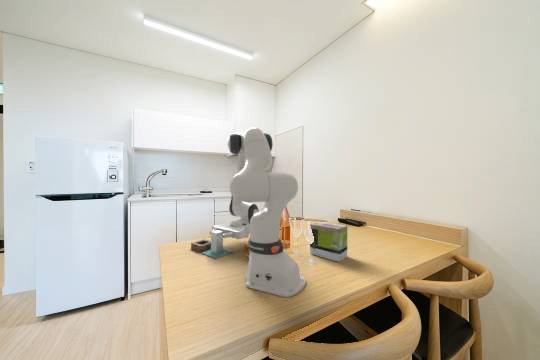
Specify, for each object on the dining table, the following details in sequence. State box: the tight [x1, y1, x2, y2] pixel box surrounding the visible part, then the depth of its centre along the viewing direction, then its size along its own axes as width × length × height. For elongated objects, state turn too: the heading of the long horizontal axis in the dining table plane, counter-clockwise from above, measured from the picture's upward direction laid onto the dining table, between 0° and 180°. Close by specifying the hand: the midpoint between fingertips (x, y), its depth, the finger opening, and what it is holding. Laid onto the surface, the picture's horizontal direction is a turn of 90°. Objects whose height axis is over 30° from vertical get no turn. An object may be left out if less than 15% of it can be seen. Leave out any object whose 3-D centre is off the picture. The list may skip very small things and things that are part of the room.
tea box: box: [309, 221, 348, 263], centre depth 97 cm, size 15×10×15 cm
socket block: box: [190, 238, 211, 253], centre depth 105 cm, size 8×8×3 cm
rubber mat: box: [201, 248, 232, 259], centre depth 99 cm, size 10×10×1 cm
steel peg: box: [210, 230, 224, 254], centre depth 99 cm, size 4×4×10 cm
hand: (216, 234), depth 99 cm, fingers open, 8 cm apart
